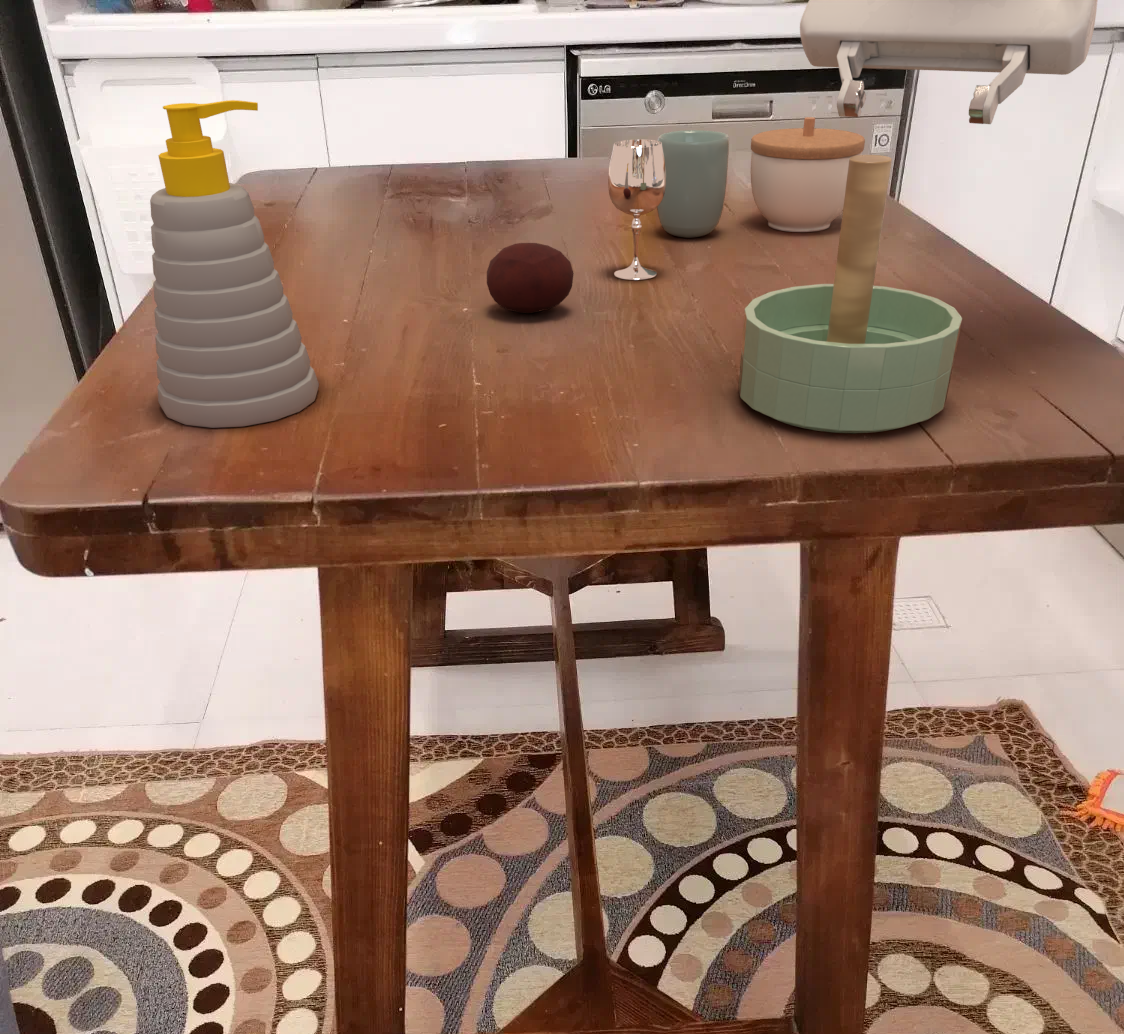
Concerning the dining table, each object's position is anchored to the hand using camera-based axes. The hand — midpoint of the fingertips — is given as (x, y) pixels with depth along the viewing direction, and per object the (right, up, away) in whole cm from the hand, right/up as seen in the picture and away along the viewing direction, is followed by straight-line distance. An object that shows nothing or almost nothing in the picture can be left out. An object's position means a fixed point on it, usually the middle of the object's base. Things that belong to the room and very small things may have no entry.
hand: (911, 114), depth 78 cm
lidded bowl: (+3, +16, +51) cm, 54 cm away
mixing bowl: (-3, -18, +6) cm, 20 cm away
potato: (-28, -4, +26) cm, 38 cm away
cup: (-10, +14, +49) cm, 52 cm away
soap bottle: (-50, -17, +9) cm, 54 cm away
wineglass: (-17, +4, +36) cm, 40 cm away
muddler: (-4, -18, +6) cm, 19 cm away
